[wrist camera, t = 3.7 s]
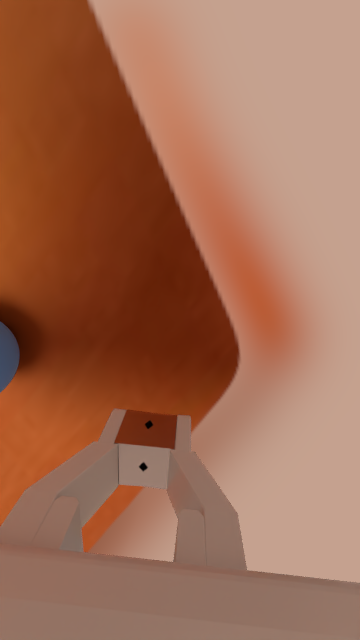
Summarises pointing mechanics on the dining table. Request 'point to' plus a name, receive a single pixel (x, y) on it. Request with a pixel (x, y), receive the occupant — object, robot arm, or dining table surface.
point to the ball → (7, 356)
